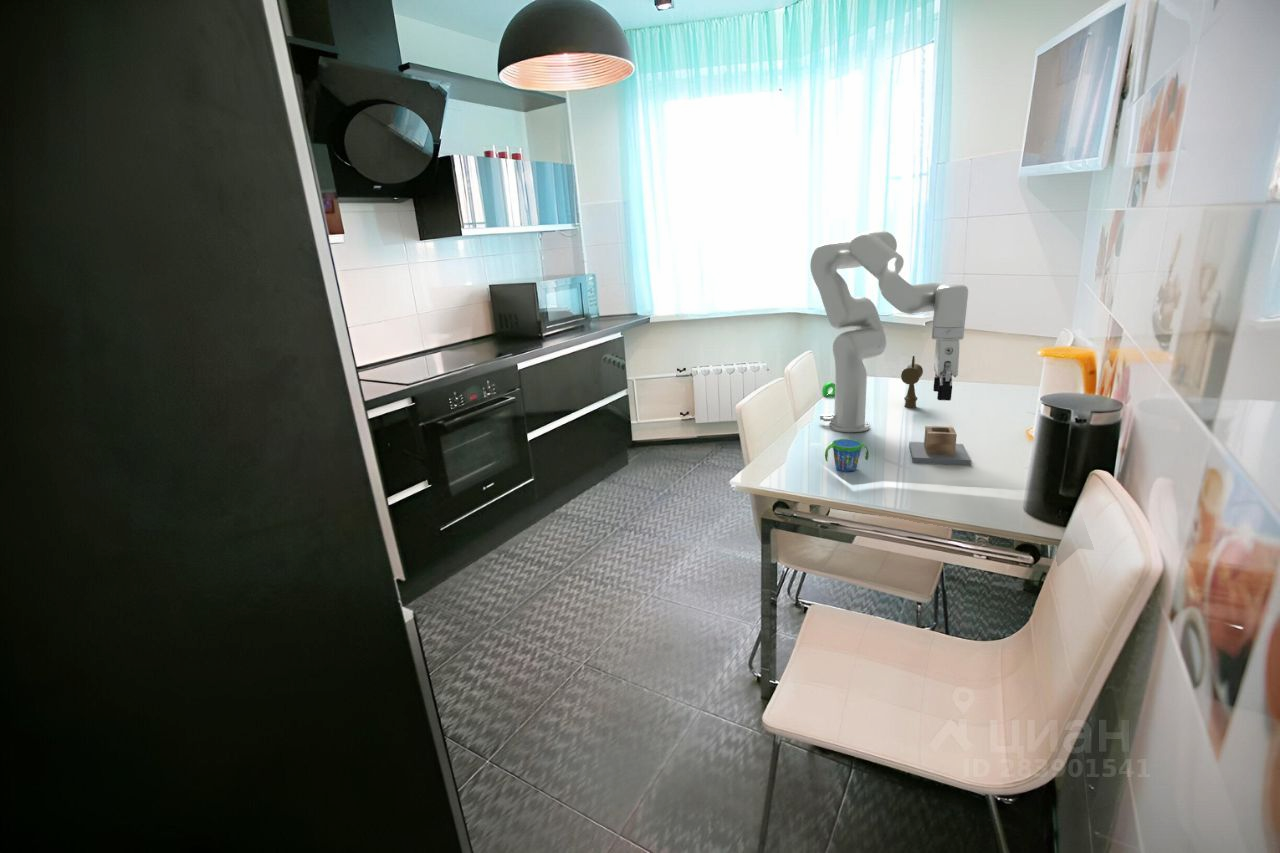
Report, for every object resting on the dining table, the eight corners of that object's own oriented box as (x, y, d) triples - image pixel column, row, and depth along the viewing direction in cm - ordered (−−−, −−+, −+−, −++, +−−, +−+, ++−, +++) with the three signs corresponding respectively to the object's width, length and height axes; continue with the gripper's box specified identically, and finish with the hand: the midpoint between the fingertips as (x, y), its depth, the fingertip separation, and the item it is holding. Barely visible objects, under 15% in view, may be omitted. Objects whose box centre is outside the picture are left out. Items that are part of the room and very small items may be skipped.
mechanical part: (828, 406, 221) (828, 385, 219) (822, 402, 227) (822, 382, 225) (858, 403, 222) (859, 383, 220) (851, 400, 228) (852, 380, 226)
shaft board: (912, 462, 159) (914, 439, 157) (908, 446, 171) (910, 425, 169) (970, 465, 154) (972, 442, 152) (962, 448, 166) (964, 427, 165)
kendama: (898, 413, 205) (901, 357, 199) (903, 407, 212) (906, 353, 207) (916, 415, 201) (920, 358, 196) (921, 408, 209) (925, 353, 204)
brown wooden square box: (926, 453, 160) (927, 433, 159) (923, 445, 166) (925, 426, 165) (954, 455, 158) (956, 434, 156) (951, 447, 164) (952, 426, 162)
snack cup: (865, 463, 160) (866, 438, 158) (871, 473, 153) (872, 447, 151) (822, 464, 162) (822, 439, 160) (826, 474, 155) (827, 447, 153)
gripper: (969, 337, 144) (962, 404, 149) (958, 328, 159) (952, 388, 164) (935, 338, 147) (929, 403, 152) (928, 328, 162) (923, 387, 167)
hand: (941, 395), depth 158 cm, fingers open, 9 cm apart
